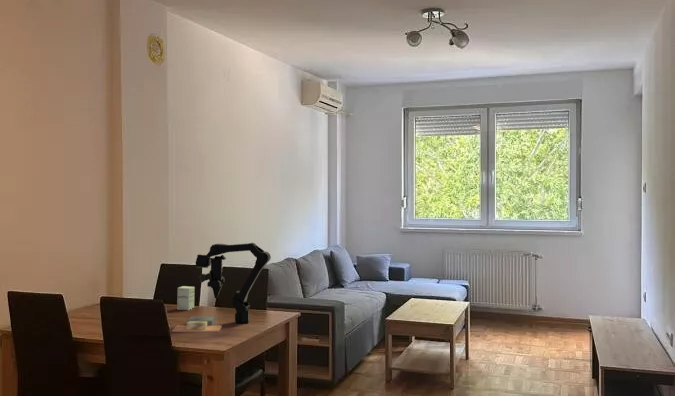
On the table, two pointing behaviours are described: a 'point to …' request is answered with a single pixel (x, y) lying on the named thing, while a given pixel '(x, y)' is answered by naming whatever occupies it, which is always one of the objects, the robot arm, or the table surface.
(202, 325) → the birch block
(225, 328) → the table surface
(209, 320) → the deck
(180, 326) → the mat
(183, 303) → the supplement box
